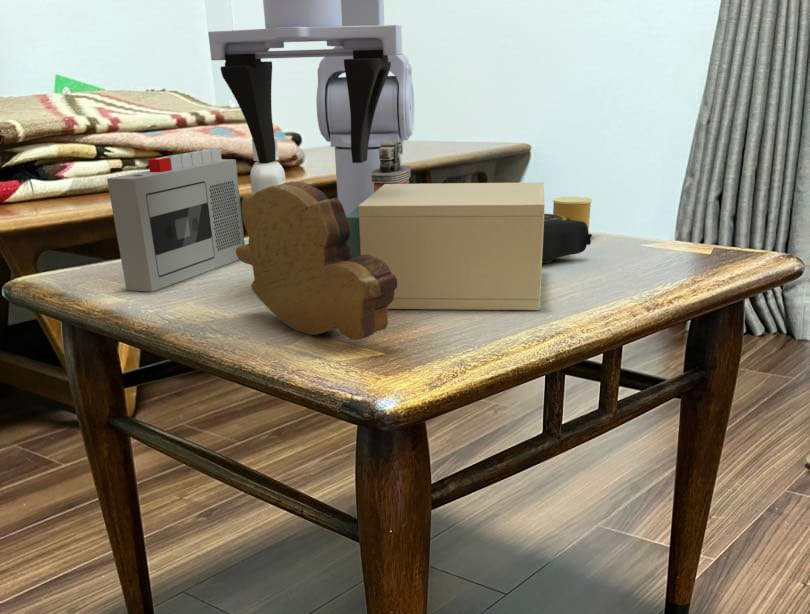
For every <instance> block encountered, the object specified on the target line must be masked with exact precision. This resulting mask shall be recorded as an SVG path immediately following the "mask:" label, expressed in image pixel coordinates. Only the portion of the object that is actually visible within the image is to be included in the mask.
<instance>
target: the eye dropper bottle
mask: <svg viewBox="0 0 810 614" xmlns="http://www.w3.org/2000/svg"><path fill="white" fill-rule="evenodd" d="M274 139H275V161H273V162H270V163H259V159H258V155H257V152H256V148H255V145H254V142H253V139H252V138H251V146H252V154H253V161H254V163H253V165H252V167H251V169H250V175H249V177H250V187H251V188H250V189H251V194H255V193H256V192H258V191H260V190H262V189H265V188H267V187H271V186H276V185H280V184H283V183H287V179H286V177H287V176H286V172H285V169H284V168H283V166H282V164H281V163H280V162H279V161H278V160H280V155H279V145H278V138H277V137H276V136H274Z"/></svg>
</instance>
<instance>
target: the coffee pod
mask: <svg viewBox="0 0 810 614" xmlns="http://www.w3.org/2000/svg"><path fill="white" fill-rule="evenodd" d="M552 202H553V205H552V206H553V210H552V214H555V215H561V216H565V217H567V218H569V219H571V220H576V221H583V222H585V223H586V224H587V227H588V231H590V220H591V218H590V217H591V204H592V202H593V199H592V198H590V197H584V196H562V197H560V196H559V197H555V198H553V199H552ZM588 233H589V232H588ZM589 234H590V233H589Z"/></svg>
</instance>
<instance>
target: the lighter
mask: <svg viewBox="0 0 810 614" xmlns="http://www.w3.org/2000/svg"><path fill="white" fill-rule="evenodd" d="M403 144H404V143H401V141H391V142H381V145H380V148H379V160H380V168H378V169H376V170H374V171H372V173H371V176H372V182H374V193H375V192H376V191H377V190H378V189H379V188H381V187H382V186H383V185H384V184H410V177H411V175H412V174H411V173H412V172H411V167H412V166H411V165H405V164H402V165H400V155H401V156H402V155H403V154H404V148H403V147H404V146H403Z"/></svg>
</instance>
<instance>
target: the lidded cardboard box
mask: <svg viewBox="0 0 810 614" xmlns="http://www.w3.org/2000/svg"><path fill="white" fill-rule="evenodd" d="M545 202H546V200H545V183H544V182H457V183H456V182H453V183H452V182H451V183H448V182H447V183H445V182H443V183H440V182H439V183H409V184H384V185H383V186H382V187H381V188H379V189H378V190H377V191H376V192H375V193H373V194H372V195H371V196H370V197H368V198H367V199H366V200H365V201H364V202H362V203H361V204H360V205H359V206H358V209H359V229H360V250H361V255H371V256H373V257H377V258H379V259H380V260H382V261H383V262H384V263H386V264H387V265H388V267H389V268H390V270H391V272H392V274H394V275H395V277H396V279H397V288H396V289H395V292H394V299H393V301H392V303H390V304H389V305H388V308H387V309H388V310H451V311H452V310H455V311H456V310H460V311H461V310H462V311H465V310H466V311H467V310H468V311H469V310H471V311H473V310H474V311H540V309H541V291H542V290H541V288H542V287H541V286H542V270H543V269H542V268H543V262H542V250H543V230H544V214H545V208H546V203H545Z"/></svg>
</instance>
